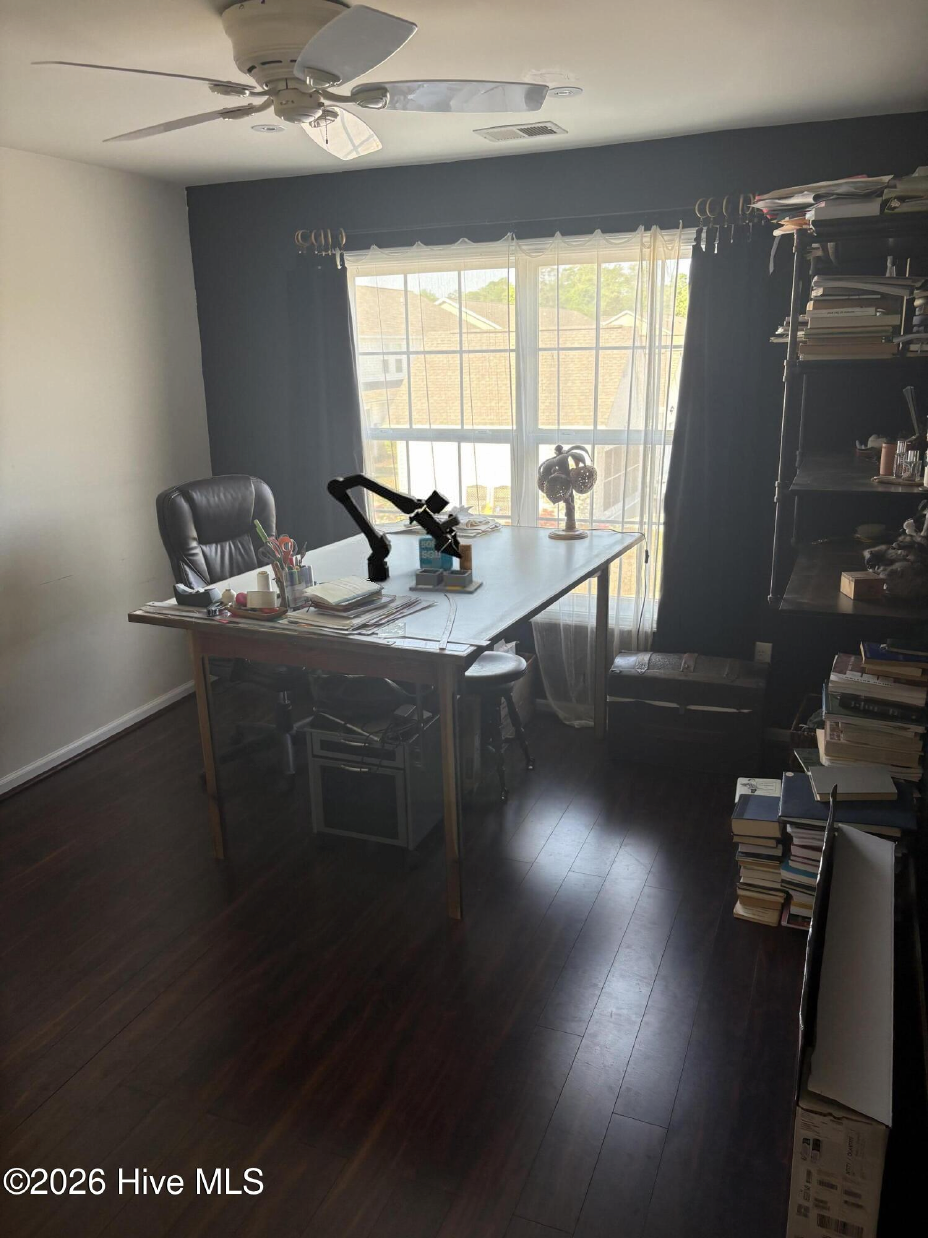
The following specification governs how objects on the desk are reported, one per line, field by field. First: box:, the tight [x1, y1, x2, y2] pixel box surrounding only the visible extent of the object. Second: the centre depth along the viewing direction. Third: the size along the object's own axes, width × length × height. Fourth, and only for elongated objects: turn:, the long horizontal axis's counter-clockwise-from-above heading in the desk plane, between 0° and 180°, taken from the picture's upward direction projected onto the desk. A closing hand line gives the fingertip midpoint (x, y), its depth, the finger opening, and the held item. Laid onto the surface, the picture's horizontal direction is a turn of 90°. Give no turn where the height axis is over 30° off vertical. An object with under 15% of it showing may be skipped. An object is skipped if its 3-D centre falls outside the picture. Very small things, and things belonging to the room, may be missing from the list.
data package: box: [418, 535, 454, 570], centre depth 324 cm, size 12×4×12 cm, turn 94°
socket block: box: [408, 568, 484, 595], centre depth 298 cm, size 22×12×5 cm, turn 73°
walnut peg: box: [458, 542, 473, 571], centre depth 308 cm, size 4×4×12 cm
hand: (463, 555), depth 308 cm, fingers open, 9 cm apart
